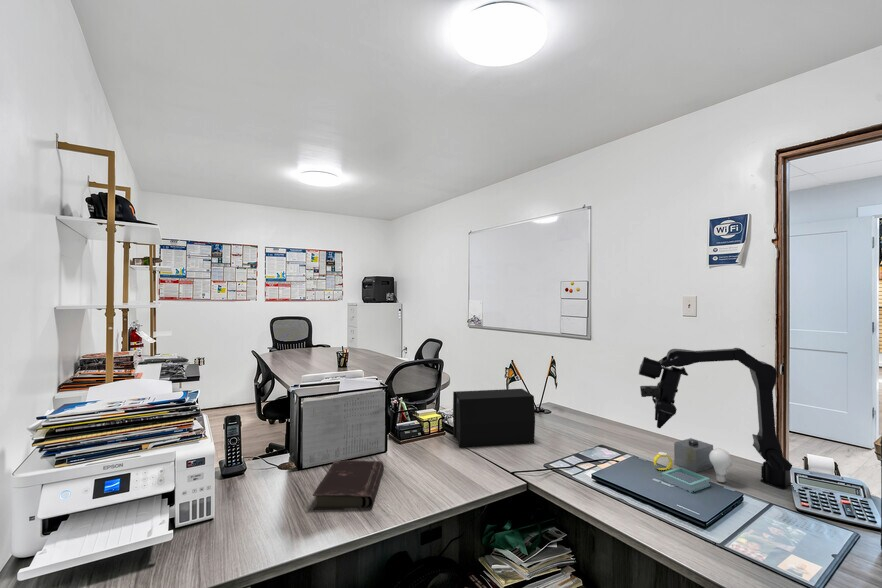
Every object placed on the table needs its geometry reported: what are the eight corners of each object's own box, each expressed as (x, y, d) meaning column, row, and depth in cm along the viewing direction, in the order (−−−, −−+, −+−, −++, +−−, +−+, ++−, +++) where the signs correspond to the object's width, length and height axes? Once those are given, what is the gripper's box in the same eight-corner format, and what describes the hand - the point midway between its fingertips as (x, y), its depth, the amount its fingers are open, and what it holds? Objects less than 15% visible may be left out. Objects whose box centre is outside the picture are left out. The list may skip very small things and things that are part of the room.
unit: (713, 467, 146) (713, 442, 146) (696, 472, 142) (696, 447, 142) (690, 458, 154) (690, 435, 154) (673, 464, 149) (673, 439, 149)
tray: (710, 486, 132) (709, 478, 132) (691, 493, 127) (691, 485, 127) (680, 474, 141) (680, 466, 141) (661, 480, 136) (661, 472, 136)
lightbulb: (710, 484, 133) (710, 450, 133) (708, 476, 139) (708, 444, 139) (734, 488, 130) (733, 454, 130) (730, 480, 136) (730, 447, 136)
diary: (384, 474, 144) (384, 460, 144) (373, 512, 119) (373, 494, 119) (331, 474, 144) (331, 459, 144) (309, 511, 119) (309, 494, 119)
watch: (657, 472, 143) (655, 455, 143) (652, 469, 146) (651, 452, 146) (674, 471, 143) (672, 454, 143) (669, 467, 146) (668, 451, 146)
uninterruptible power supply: (453, 435, 181) (452, 390, 181) (525, 431, 186) (524, 387, 186) (460, 449, 165) (460, 400, 165) (539, 444, 170) (538, 396, 170)
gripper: (643, 371, 157) (632, 409, 159) (646, 381, 140) (634, 423, 142) (675, 381, 153) (664, 419, 154) (682, 391, 136) (669, 435, 137)
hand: (657, 424), depth 147 cm, fingers open, 9 cm apart
